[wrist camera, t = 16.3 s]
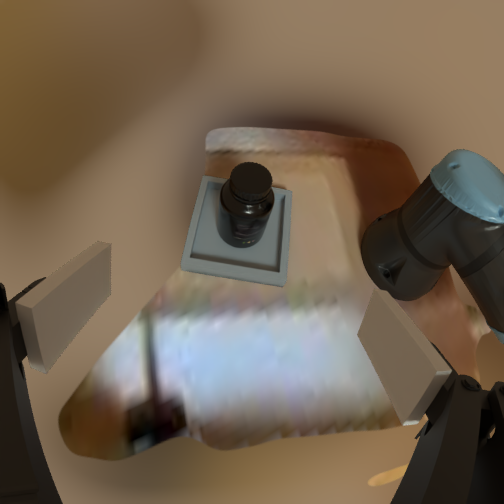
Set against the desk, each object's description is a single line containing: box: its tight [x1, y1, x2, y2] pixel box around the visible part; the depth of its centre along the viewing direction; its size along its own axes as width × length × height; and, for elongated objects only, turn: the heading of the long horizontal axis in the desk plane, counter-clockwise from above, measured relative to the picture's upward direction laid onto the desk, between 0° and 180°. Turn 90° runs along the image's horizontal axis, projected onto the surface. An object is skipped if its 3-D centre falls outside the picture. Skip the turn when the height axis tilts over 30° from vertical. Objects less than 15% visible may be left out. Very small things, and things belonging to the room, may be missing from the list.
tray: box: [181, 175, 292, 287], centre depth 44 cm, size 14×15×2 cm
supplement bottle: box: [217, 162, 275, 248], centre depth 39 cm, size 7×7×12 cm
